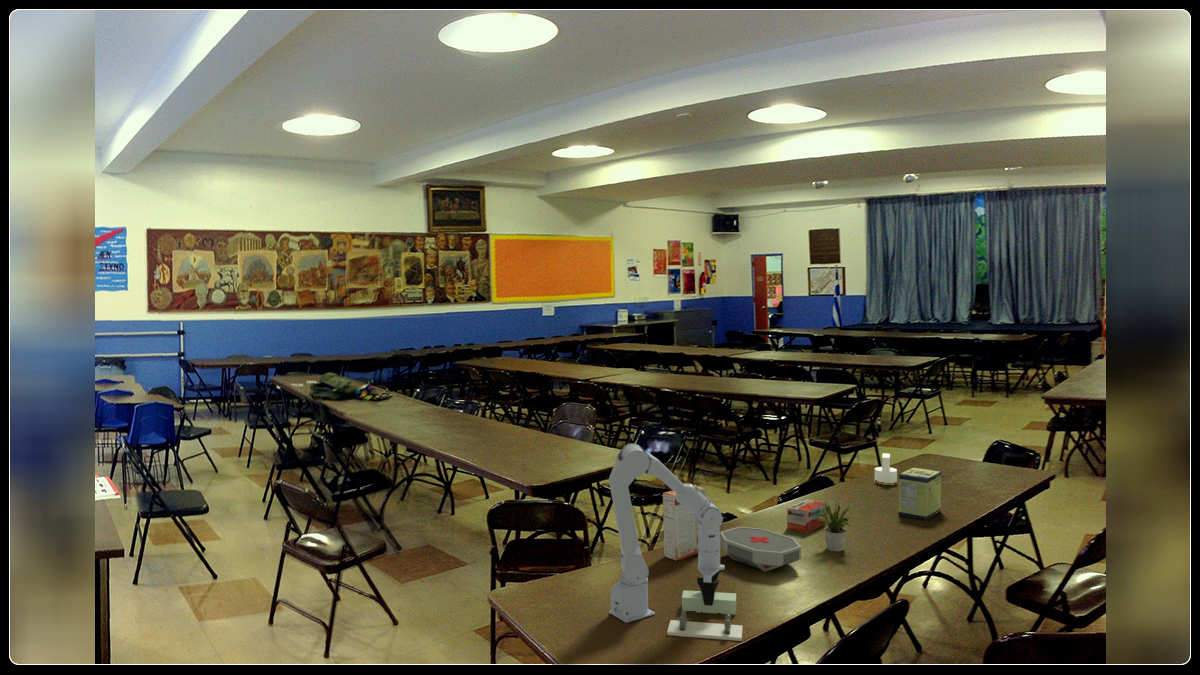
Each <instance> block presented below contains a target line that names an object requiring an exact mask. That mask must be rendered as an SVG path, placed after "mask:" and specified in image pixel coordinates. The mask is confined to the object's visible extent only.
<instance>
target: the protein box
mask: <svg viewBox="0 0 1200 675" xmlns="http://www.w3.org/2000/svg"><path fill="white" fill-rule="evenodd" d="M941 507H942V471H940V470H935V469H927V468H921V467H915V466H914V467H912V468H910V469H907V470H905V471H903V472H901V473H899V474H898V514H897V515H898V516H899V515H904V516H909V517H908V518H910V517H915V518H914V519H916V518H921V519H928V518H929V517H930V516H932V515H934V514H935V513H936V512H938V511H939V510H940V509H942V508H941ZM904 516H903V517H904ZM934 516H935V515H934ZM921 519H920V520H921ZM929 519H930V518H929ZM929 519H928V520H929Z"/></svg>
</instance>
